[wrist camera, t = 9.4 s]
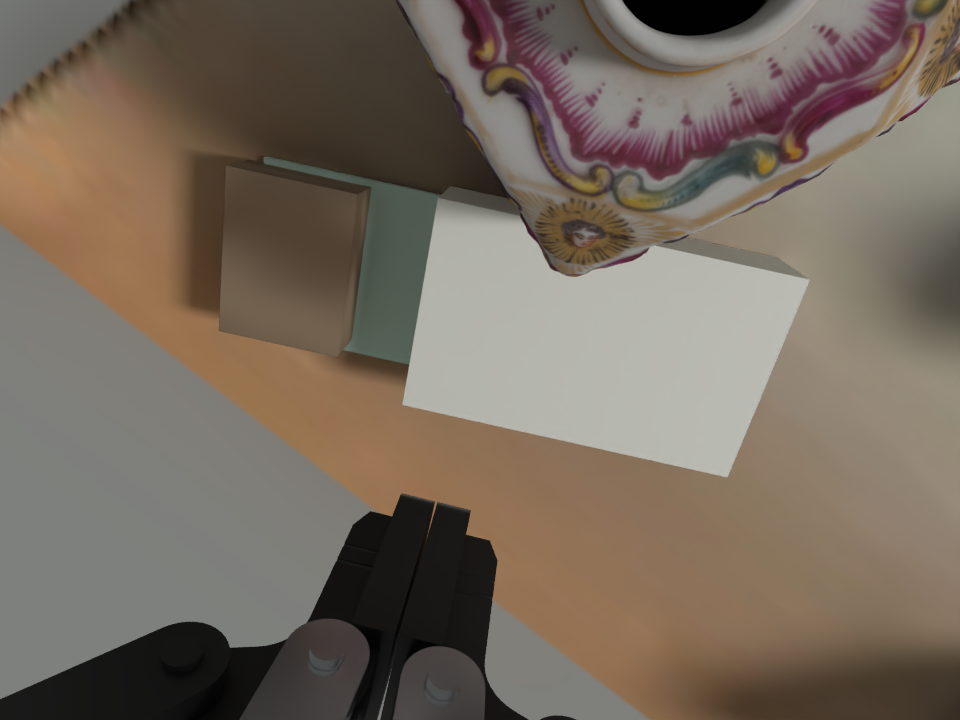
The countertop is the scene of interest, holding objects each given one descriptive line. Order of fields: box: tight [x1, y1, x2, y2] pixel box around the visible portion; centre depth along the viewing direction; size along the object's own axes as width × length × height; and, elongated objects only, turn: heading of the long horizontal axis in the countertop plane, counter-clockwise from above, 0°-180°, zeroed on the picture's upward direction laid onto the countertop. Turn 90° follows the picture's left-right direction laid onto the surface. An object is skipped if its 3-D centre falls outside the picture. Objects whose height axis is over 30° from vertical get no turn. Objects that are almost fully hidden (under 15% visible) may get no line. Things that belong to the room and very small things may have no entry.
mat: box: [263, 156, 441, 365], centre depth 33 cm, size 9×9×1 cm
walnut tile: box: [219, 160, 371, 357], centre depth 31 cm, size 8×6×2 cm
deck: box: [403, 186, 810, 477], centre depth 31 cm, size 10×16×4 cm, turn 79°
